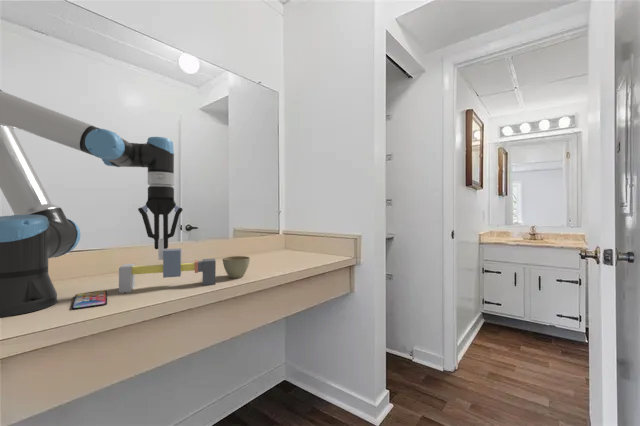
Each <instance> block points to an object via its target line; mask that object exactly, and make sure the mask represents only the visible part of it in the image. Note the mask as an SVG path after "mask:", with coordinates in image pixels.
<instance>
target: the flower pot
mask: <svg viewBox="0 0 640 426" xmlns="http://www.w3.org/2000/svg"><path fill="white" fill-rule="evenodd" d="M250 260H251V257H249V256H246V255H244V256H243V255H231V256H225V257H222V265H223V268H224V270H225V273H226V274H227V276H228V277H229V278H231V279H239V278H243V277H244V276H245V274H246V272H247V270H248V268H249V265H250Z"/></svg>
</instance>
